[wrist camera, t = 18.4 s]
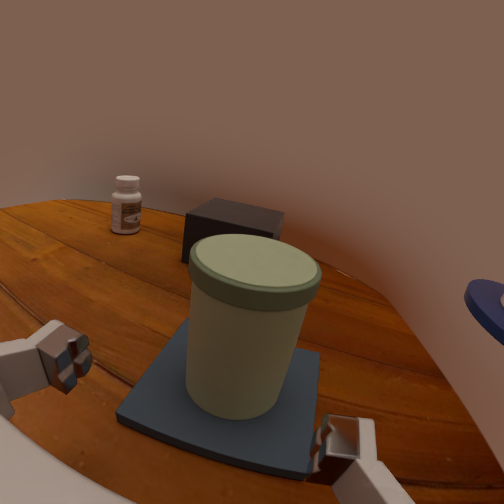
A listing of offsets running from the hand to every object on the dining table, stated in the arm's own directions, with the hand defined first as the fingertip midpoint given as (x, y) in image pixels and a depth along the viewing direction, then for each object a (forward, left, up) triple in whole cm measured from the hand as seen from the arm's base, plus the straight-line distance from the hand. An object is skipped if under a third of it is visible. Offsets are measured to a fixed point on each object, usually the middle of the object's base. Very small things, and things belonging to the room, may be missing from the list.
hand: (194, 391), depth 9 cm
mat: (+4, -7, -8) cm, 11 cm away
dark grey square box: (+21, -22, -8) cm, 31 cm away
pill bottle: (+35, -13, -8) cm, 38 cm away
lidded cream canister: (+4, -6, -7) cm, 10 cm away
